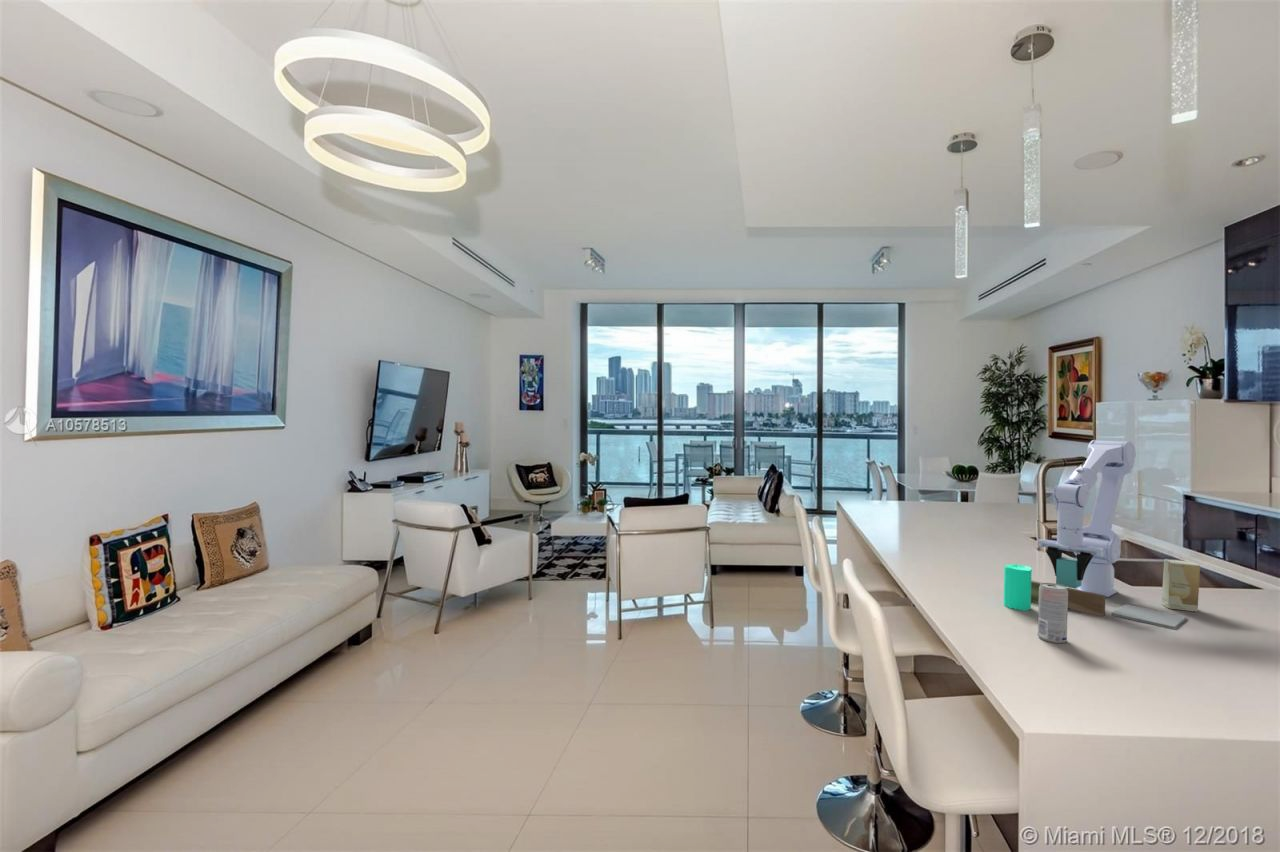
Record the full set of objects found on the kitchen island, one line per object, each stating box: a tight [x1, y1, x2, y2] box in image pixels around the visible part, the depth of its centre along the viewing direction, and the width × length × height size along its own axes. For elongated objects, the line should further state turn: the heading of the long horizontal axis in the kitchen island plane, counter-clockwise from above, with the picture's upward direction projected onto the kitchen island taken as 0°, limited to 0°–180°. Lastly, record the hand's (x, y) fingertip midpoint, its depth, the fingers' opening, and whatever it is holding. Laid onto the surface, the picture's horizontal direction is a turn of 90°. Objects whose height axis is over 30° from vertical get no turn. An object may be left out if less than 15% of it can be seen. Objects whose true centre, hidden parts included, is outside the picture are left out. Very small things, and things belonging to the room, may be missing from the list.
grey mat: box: [1111, 603, 1187, 630], centre depth 148 cm, size 12×12×1 cm
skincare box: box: [1161, 558, 1201, 613], centre depth 155 cm, size 6×4×12 cm
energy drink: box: [1037, 582, 1069, 644], centre depth 132 cm, size 5×5×12 cm
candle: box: [1003, 563, 1033, 611], centre depth 155 cm, size 6×6×12 cm
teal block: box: [1055, 556, 1082, 589], centre depth 161 cm, size 4×4×7 cm
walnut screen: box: [1031, 579, 1107, 617], centre depth 156 cm, size 2×20×5 cm, turn 37°
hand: (1068, 577), depth 161 cm, fingers closed on teal block, 4 cm apart
